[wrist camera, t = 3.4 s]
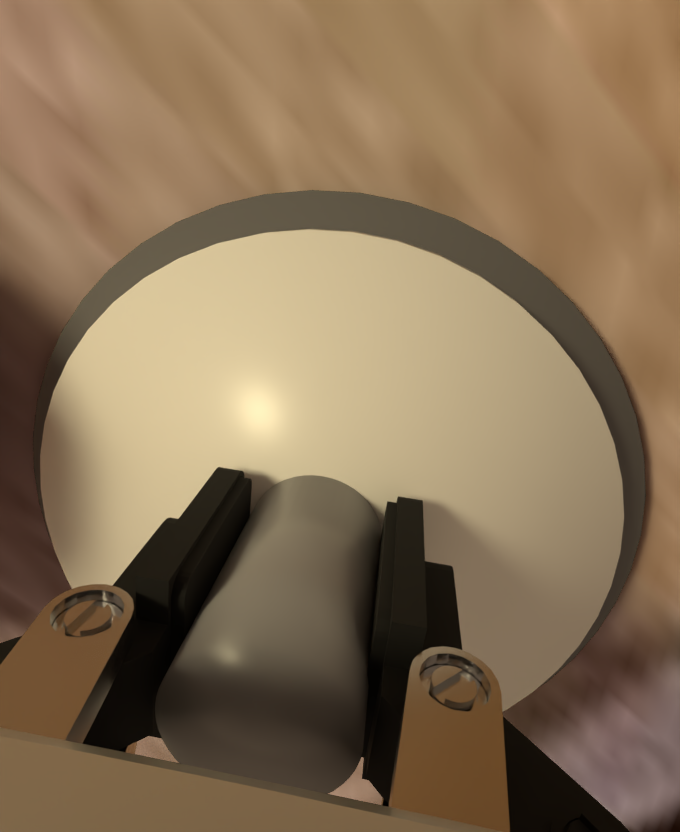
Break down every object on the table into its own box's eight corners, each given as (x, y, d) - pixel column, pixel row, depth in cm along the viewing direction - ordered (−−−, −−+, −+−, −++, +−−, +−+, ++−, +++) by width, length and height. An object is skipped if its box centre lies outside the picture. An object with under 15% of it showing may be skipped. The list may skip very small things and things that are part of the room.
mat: (18, 150, 12) (4, 148, 11) (739, 240, 10) (751, 241, 10) (61, 677, 17) (53, 688, 16) (547, 772, 16) (550, 785, 15)
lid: (40, 190, 11) (-296, 173, 6) (698, 276, 10) (1003, 347, 5) (75, 674, 16) (-97, 909, 11) (531, 763, 15) (597, 1071, 10)
